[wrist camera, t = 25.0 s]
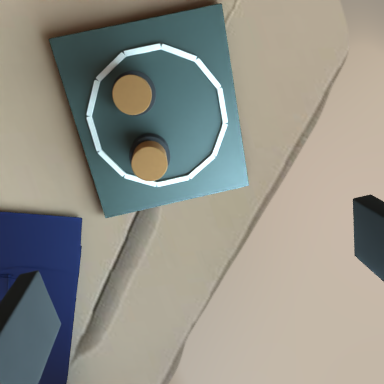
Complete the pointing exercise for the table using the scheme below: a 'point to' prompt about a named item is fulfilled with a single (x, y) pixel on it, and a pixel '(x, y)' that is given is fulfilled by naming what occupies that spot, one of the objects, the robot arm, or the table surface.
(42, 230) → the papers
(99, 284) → the table surface
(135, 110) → the stamp
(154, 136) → the stamp
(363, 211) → the robot arm
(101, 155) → the slate board
